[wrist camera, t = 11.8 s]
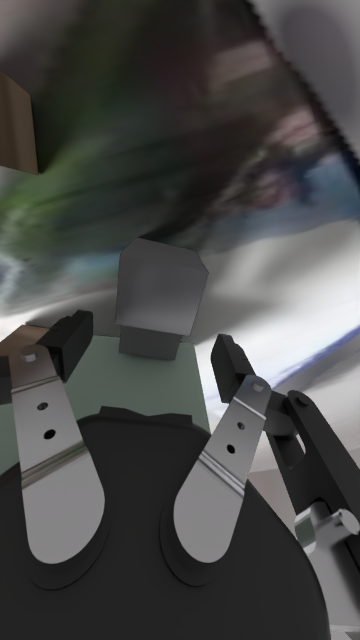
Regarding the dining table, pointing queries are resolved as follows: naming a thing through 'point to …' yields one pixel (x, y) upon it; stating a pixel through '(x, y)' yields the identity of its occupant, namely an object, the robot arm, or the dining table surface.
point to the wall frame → (17, 153)
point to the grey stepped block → (157, 297)
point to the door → (122, 388)
